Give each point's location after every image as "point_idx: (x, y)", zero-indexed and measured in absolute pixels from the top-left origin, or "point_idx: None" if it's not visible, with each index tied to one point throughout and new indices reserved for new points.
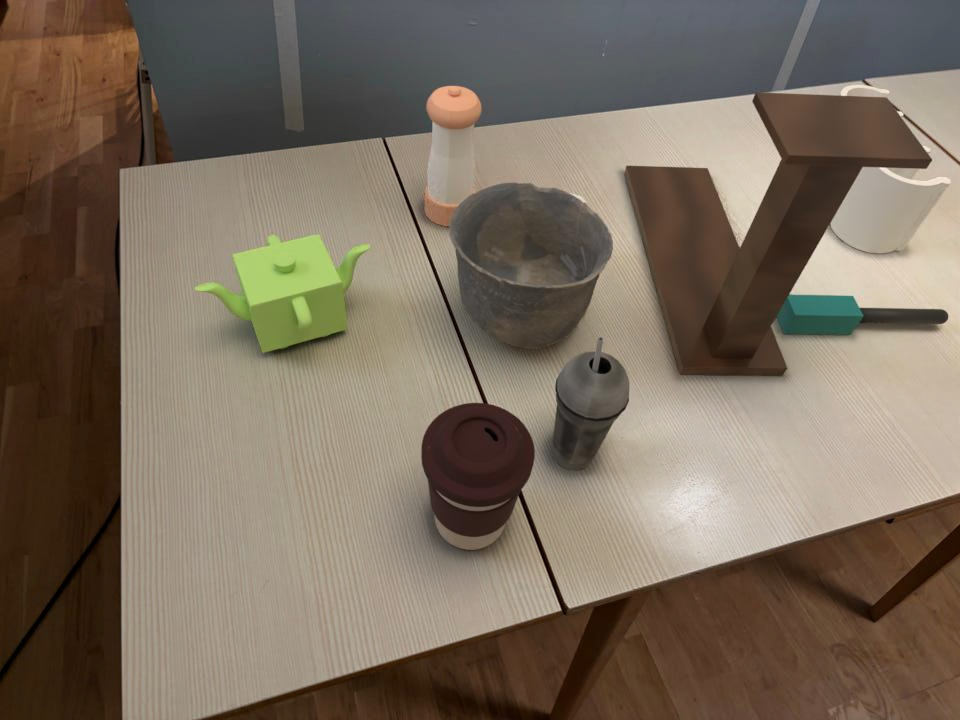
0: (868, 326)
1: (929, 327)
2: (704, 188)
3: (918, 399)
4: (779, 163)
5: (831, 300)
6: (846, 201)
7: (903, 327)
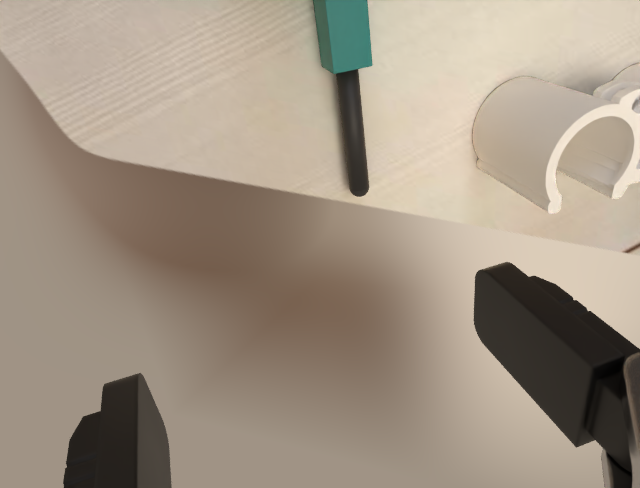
0: None
1: None
2: None
3: (224, 140)
4: None
5: (358, 27)
6: (551, 86)
7: None
